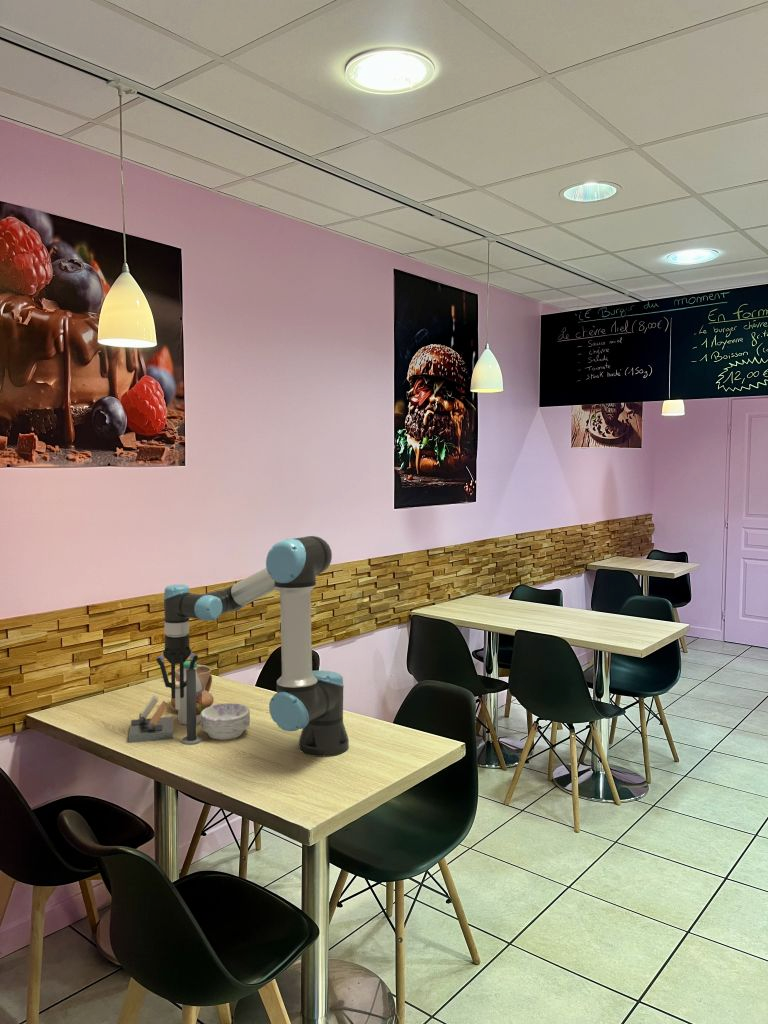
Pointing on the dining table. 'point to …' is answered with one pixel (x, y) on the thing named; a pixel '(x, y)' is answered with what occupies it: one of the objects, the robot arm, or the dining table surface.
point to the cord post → (191, 709)
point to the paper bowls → (225, 720)
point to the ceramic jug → (205, 681)
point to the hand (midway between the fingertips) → (177, 707)
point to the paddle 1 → (148, 709)
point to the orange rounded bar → (157, 715)
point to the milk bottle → (183, 701)
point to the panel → (160, 732)
